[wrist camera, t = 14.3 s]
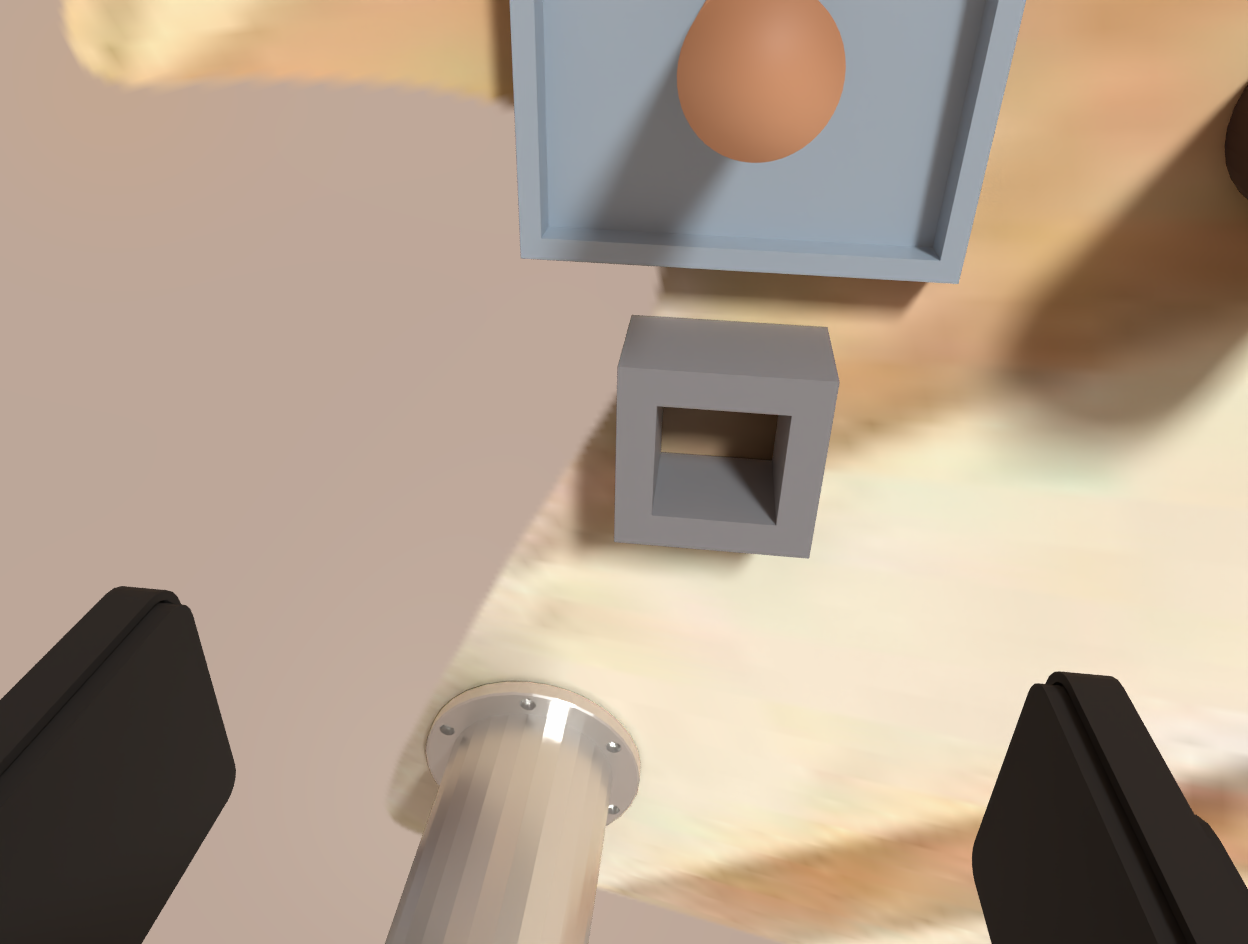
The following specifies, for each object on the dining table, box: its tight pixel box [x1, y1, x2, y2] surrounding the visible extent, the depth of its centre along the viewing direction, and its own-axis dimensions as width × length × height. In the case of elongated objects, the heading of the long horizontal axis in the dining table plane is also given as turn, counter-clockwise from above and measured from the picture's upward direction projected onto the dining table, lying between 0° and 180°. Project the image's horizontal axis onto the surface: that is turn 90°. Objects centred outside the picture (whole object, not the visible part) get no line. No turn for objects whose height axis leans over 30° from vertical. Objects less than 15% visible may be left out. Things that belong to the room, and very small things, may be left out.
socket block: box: [614, 315, 839, 558], centre depth 36 cm, size 8×8×5 cm
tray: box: [510, 0, 1026, 284], centre depth 29 cm, size 16×16×2 cm
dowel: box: [677, 0, 846, 163], centre depth 24 cm, size 4×4×12 cm
